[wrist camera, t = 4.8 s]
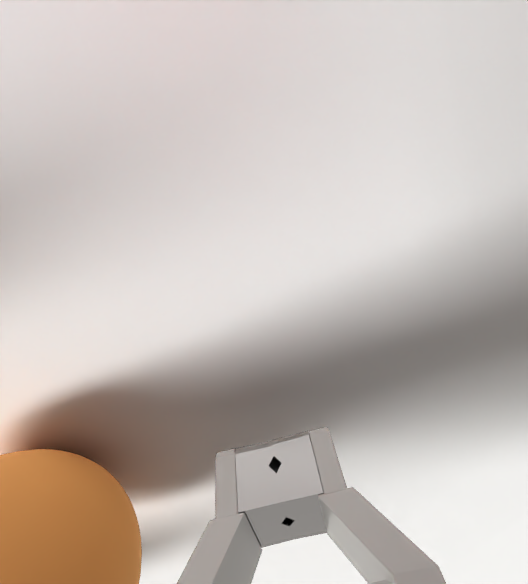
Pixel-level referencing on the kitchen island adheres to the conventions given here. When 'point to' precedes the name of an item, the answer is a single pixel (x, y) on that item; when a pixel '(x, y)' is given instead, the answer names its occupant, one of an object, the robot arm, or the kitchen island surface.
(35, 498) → the ball
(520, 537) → the kitchen island surface
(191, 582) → the robot arm
